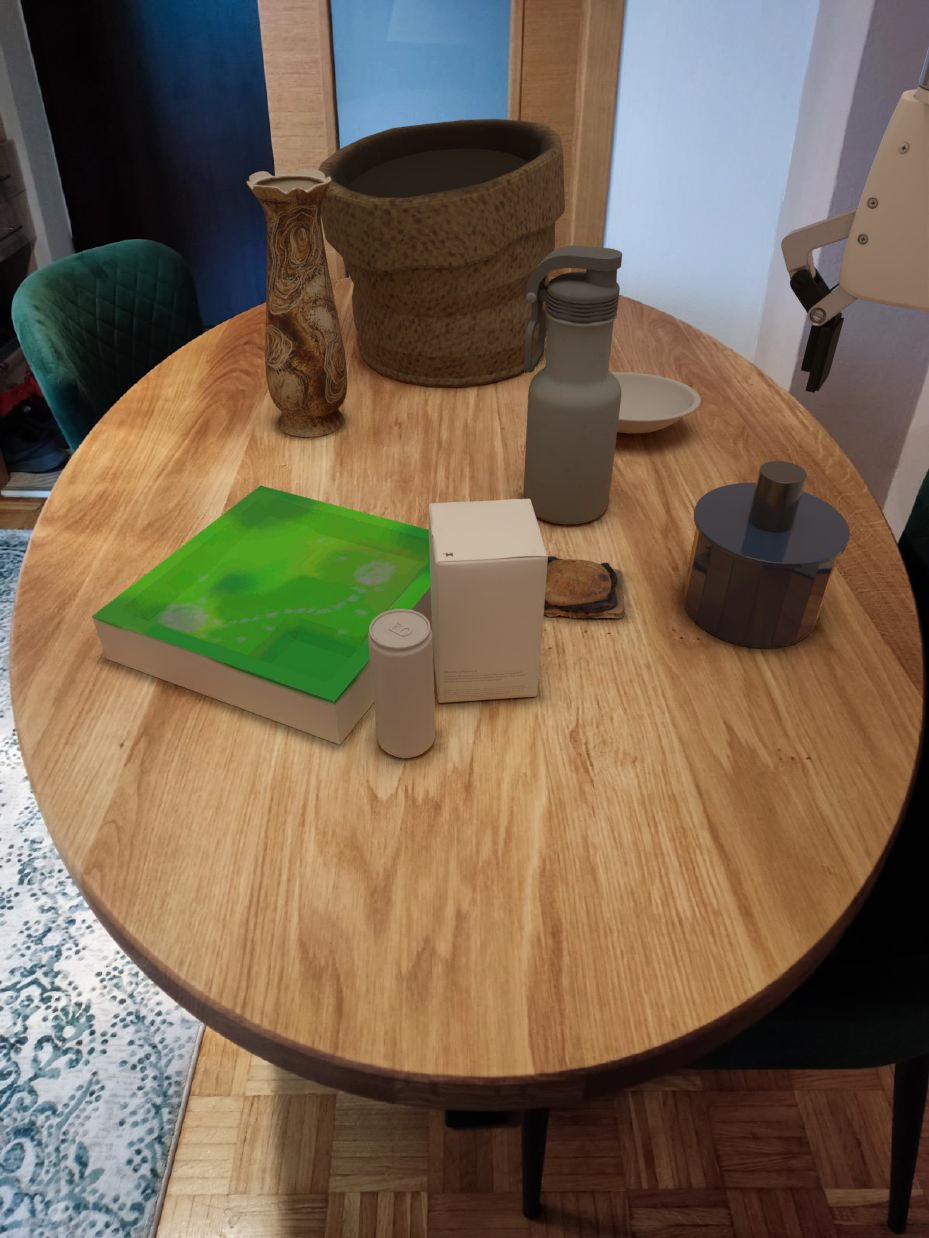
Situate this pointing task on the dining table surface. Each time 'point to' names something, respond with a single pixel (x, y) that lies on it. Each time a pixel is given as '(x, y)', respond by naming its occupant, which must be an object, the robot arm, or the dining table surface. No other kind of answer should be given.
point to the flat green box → (274, 609)
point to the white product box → (486, 598)
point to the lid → (772, 520)
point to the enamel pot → (752, 597)
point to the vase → (300, 305)
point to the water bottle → (572, 385)
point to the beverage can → (402, 681)
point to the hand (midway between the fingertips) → (898, 401)
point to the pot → (445, 243)
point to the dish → (652, 402)
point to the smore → (583, 589)
